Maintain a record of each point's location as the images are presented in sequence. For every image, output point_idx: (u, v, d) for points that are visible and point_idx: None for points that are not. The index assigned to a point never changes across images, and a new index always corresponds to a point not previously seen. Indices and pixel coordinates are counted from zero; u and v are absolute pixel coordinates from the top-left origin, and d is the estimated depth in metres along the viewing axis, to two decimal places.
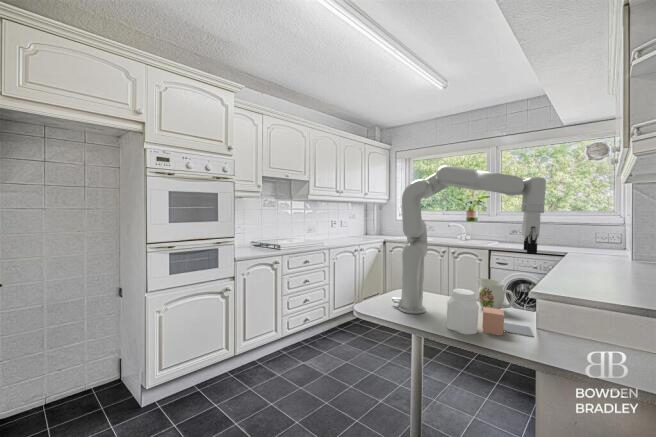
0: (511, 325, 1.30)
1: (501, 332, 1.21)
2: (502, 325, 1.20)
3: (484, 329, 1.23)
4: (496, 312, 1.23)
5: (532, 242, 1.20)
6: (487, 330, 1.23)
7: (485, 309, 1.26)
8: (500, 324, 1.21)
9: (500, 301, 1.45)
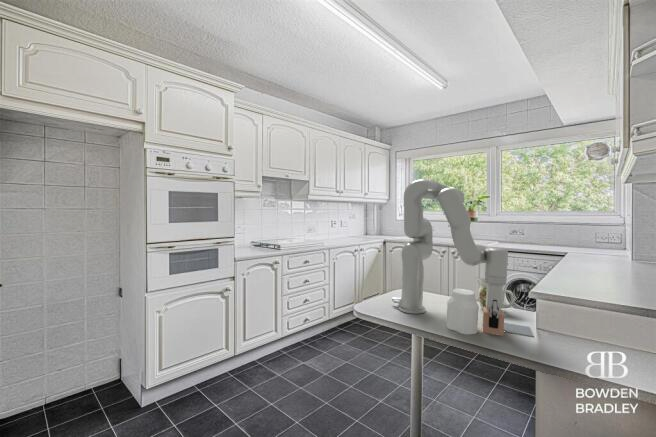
0: (511, 325, 1.30)
1: (501, 332, 1.21)
2: (502, 325, 1.20)
3: (484, 329, 1.23)
4: None
5: (493, 317, 1.20)
6: (487, 330, 1.23)
7: (485, 309, 1.26)
8: (500, 324, 1.21)
9: None
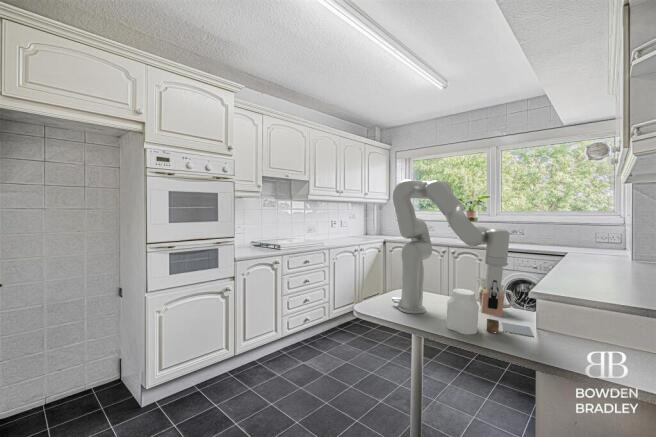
0: (511, 325, 1.30)
1: (500, 313, 1.21)
2: (502, 306, 1.20)
3: (483, 310, 1.23)
4: None
5: (493, 298, 1.20)
6: (486, 310, 1.23)
7: (485, 290, 1.26)
8: (499, 305, 1.21)
9: None
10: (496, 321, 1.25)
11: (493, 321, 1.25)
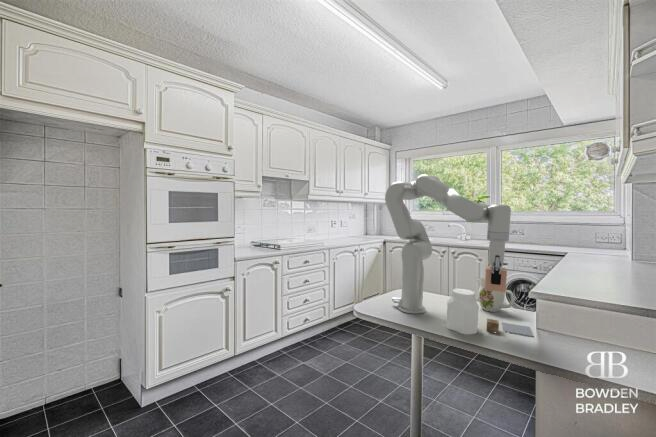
0: (511, 325, 1.30)
1: (504, 288, 1.20)
2: (505, 281, 1.19)
3: (486, 286, 1.22)
4: None
5: (495, 273, 1.19)
6: (489, 287, 1.22)
7: (487, 267, 1.25)
8: (503, 280, 1.20)
9: (500, 301, 1.45)
10: (496, 321, 1.25)
11: (493, 321, 1.25)
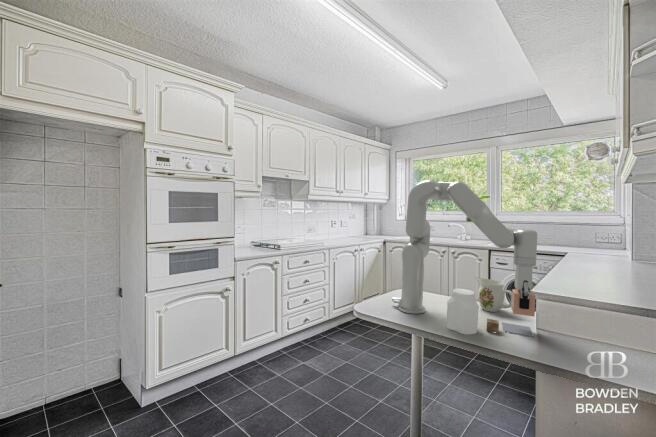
0: (511, 325, 1.30)
1: (532, 313, 1.21)
2: (533, 305, 1.21)
3: (515, 310, 1.24)
4: None
5: (524, 298, 1.21)
6: (518, 311, 1.23)
7: (515, 291, 1.27)
8: (531, 305, 1.21)
9: (500, 301, 1.45)
10: (496, 321, 1.25)
11: (493, 321, 1.25)
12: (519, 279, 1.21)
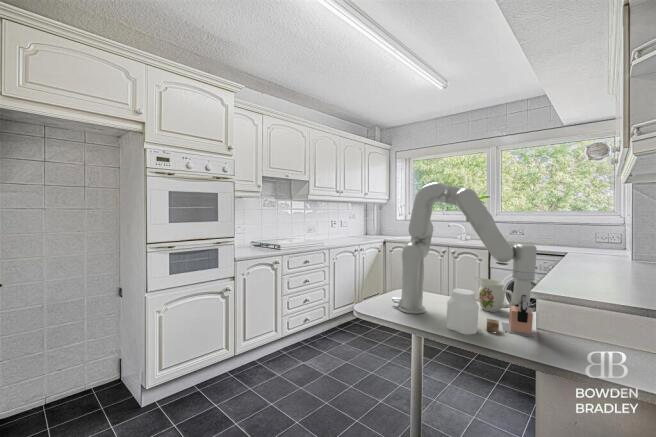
0: None
1: (530, 330, 1.22)
2: (531, 323, 1.22)
3: (512, 328, 1.24)
4: None
5: (522, 311, 1.20)
6: (515, 328, 1.24)
7: (512, 308, 1.27)
8: (529, 323, 1.22)
9: (500, 301, 1.45)
10: (496, 321, 1.25)
11: (493, 321, 1.25)
12: (517, 293, 1.22)
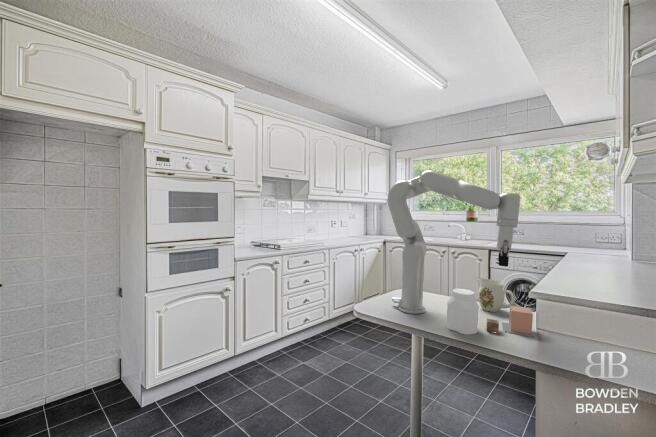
0: None
1: (530, 330, 1.22)
2: (531, 323, 1.22)
3: (512, 328, 1.24)
4: (524, 311, 1.24)
5: (504, 255, 1.26)
6: (515, 328, 1.24)
7: (512, 308, 1.27)
8: (529, 323, 1.22)
9: (500, 301, 1.45)
10: (496, 321, 1.25)
11: (493, 321, 1.25)
12: (500, 239, 1.28)
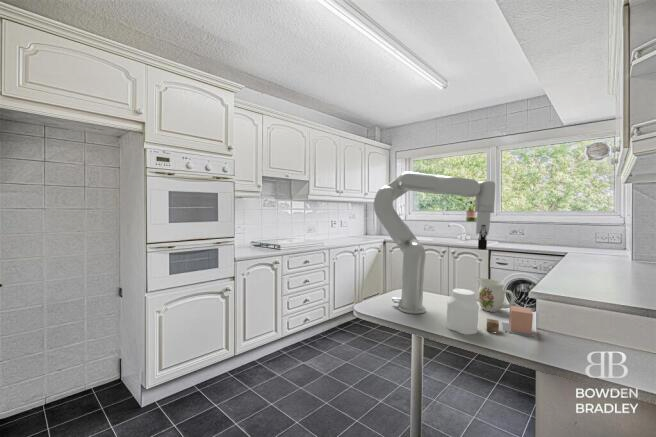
0: None
1: (530, 330, 1.22)
2: (531, 323, 1.22)
3: (512, 328, 1.24)
4: (524, 311, 1.24)
5: (482, 239, 1.35)
6: (515, 328, 1.24)
7: (512, 308, 1.27)
8: (529, 323, 1.22)
9: (500, 301, 1.45)
10: (496, 321, 1.25)
11: (493, 321, 1.25)
12: (478, 224, 1.37)
